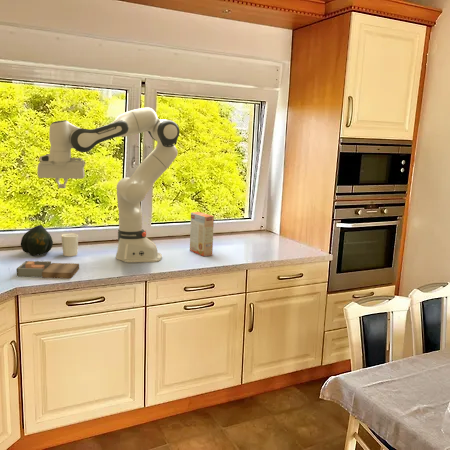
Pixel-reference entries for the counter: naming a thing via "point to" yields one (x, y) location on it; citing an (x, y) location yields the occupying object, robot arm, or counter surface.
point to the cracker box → (201, 233)
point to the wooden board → (60, 270)
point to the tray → (31, 269)
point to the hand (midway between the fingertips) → (61, 188)
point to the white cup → (69, 244)
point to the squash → (36, 241)
